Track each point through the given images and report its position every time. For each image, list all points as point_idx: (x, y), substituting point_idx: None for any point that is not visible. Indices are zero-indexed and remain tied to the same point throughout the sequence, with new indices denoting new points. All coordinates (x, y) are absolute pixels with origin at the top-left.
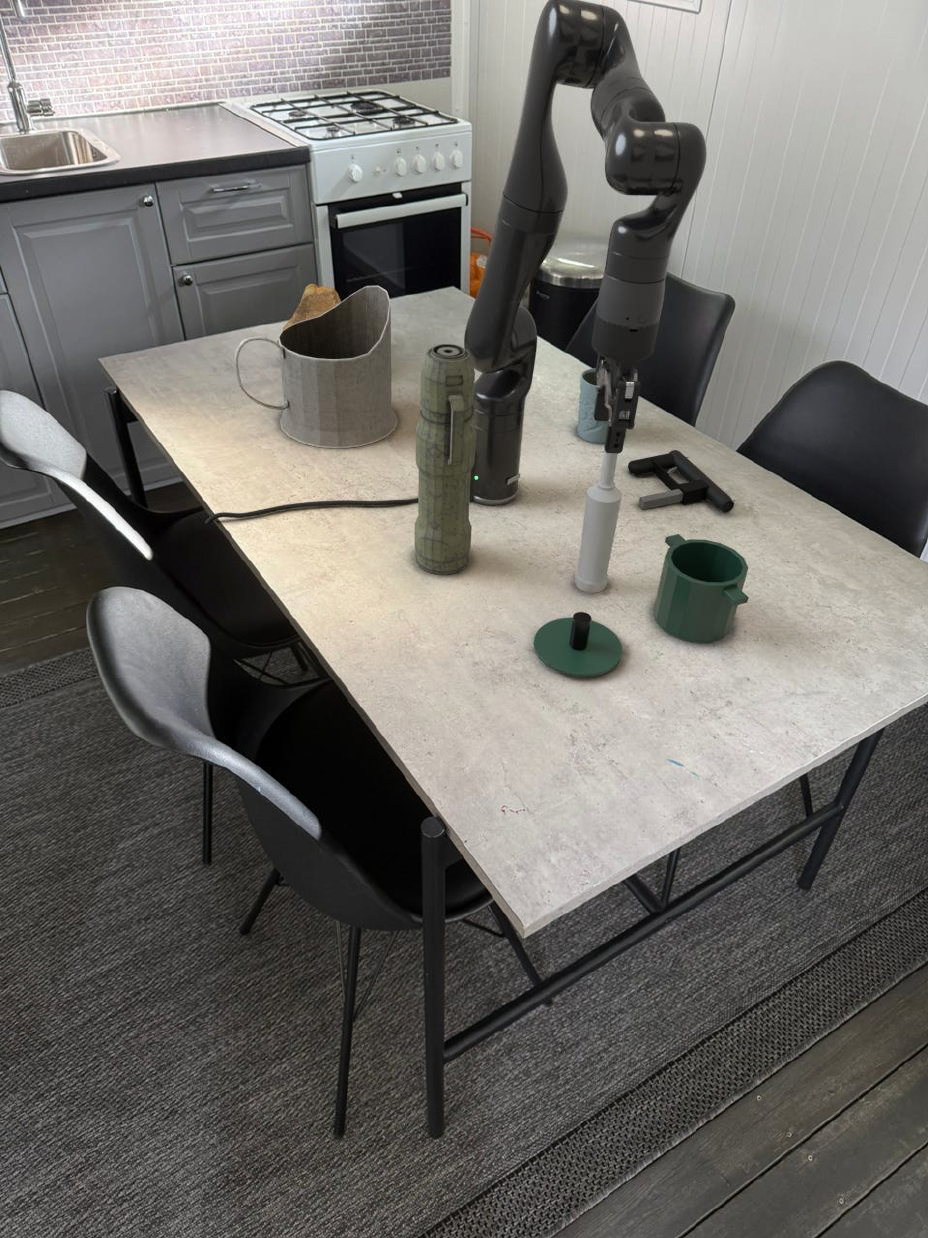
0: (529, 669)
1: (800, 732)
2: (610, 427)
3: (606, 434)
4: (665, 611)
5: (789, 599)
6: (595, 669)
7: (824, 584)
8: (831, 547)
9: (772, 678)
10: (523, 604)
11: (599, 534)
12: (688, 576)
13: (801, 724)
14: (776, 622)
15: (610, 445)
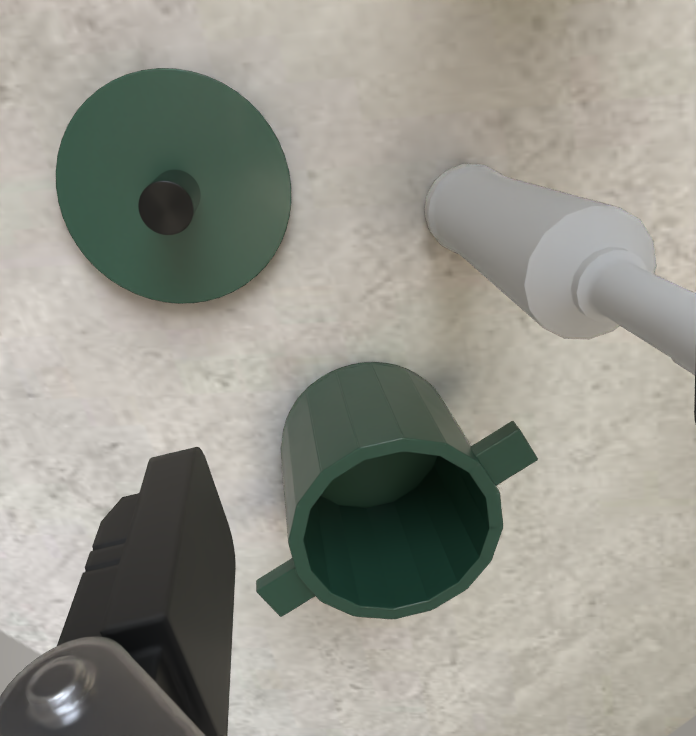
0: (61, 67)
1: None
2: (104, 635)
3: (174, 528)
4: (319, 402)
5: (466, 605)
6: (92, 244)
7: (523, 657)
8: (645, 668)
9: None
10: (341, 20)
11: (480, 247)
12: (317, 497)
13: None
14: None
15: (99, 536)
